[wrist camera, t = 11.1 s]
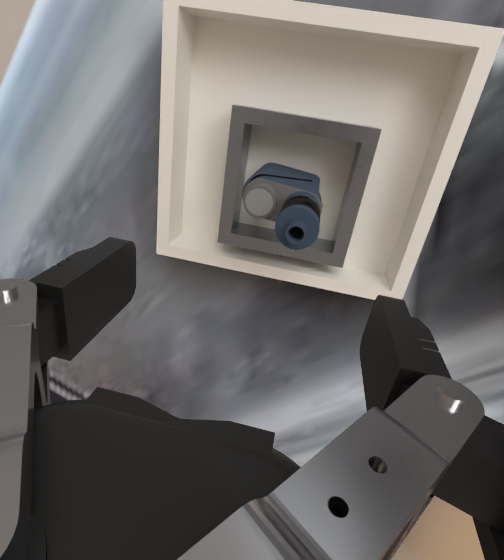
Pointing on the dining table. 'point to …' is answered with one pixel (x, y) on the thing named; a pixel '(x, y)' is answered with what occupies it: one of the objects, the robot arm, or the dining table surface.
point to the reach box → (322, 104)
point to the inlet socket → (236, 170)
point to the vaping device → (286, 203)
